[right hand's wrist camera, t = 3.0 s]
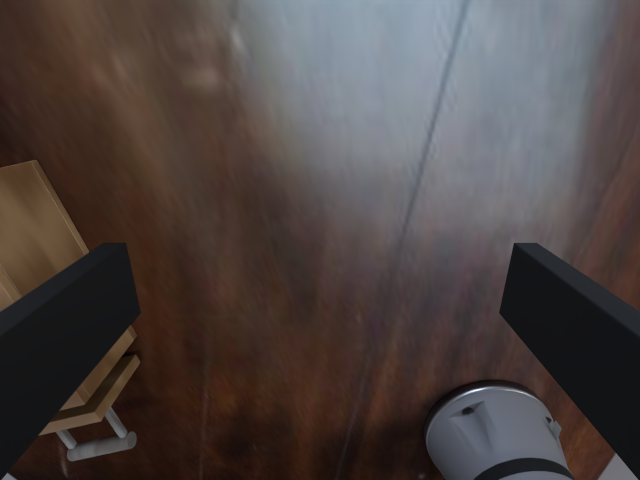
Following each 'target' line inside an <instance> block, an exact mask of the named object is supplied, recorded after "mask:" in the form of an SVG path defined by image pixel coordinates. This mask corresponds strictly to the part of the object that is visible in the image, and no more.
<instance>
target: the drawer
mask: <svg viewBox="0 0 640 480" xmlns="http://www.w3.org/2000/svg"><path fill="white" fill-rule="evenodd" d="M139 364H140V361H139V359H138V357H137V355H136V354H135V355H131V356H127V357H123V358H120V359H119V360H118V362H117V363H116V364H115V366H114V367H113V368H112V370H111V371H110V372H109V374H108V375H107V376H106V377H105V379H104V380H103V381H102V383H101V384H100V385H99V387H98V388H97V389H96V391H95V392H94V393H93V395H92V396H91V397H90V398H89V400H88V401H87V402H86V404H85V405H81V406H77V407H73V408H69V409H64V410H60V411H58V413H57V414H56V415H55V416H54V417H53V419H52V420H51V421H50V422H49V423H48V425H47V426H46V427H45V428H44V429H43V431H42V432H41V433H40V434H39V435H43V434H47V433H51V432H56V433H57V434H58V435H59V437H60V438H61V439H62V441H63V442H64V443H65V445H66V446H67V447H68V448H69V449H68V452H67V457H68V459H69V460H70V461H76V460H81V459H85V458H90V457H94V456H99V455H104V454H108V453H113V452H117V451H122V450H127V449H131V448H133V447H134V446H135V444H136V440H137V437H136V434H135V432H133V431H131V432H127V430H126V429H125V427H124V426H123V424H122V423H121V421H120V420H119V418H118V417H117V415H116V414H115V412H114V411H113V409H112V408H111V405H112V404H113V402H114V401H115V399H116V398H117V396H118V395H119V393H120V392H121V390H122V389H123V388H124V386H125V385H126V383H127V382H128V380H129V379H130V377H131V376H132V374H133V373H134V371H135V370H136V368H137V367H138V365H139ZM104 416H105V417H106V418H107V420H108V421H109V423H110V424H111V426H112V427H113V429H114V430H115V432H116V433H117V435H113V436H109V437H104V438H100V439H95V440H91V441H86V442H82V443H76V441H75V440H74V439H73V437H72V436H71V435H70V433H69V432H68V431H67V429H69V428H73V427H78V426H82V425H87V424H91V423H95V422H100V421H101V420H102V419H103V417H104Z"/></svg>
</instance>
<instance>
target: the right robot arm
mask: <svg viewBox="0 0 640 480" xmlns="http://www.w3.org/2000/svg"><path fill="white" fill-rule="evenodd" d="M140 313H141V312H140V307H139V302H138V297H137V293H136V288H135V283H134V279H133V274H132V269H131V265H130V260H129V255H128V251H127V246H126V243H103V244H101V245H100V246H98V247H97V248H95V249H94V250H92V251H91V252H89V253H88V254H86V255H85V256H83V257H82V258H80V259H79V260H77V261H76V262H74V263H73V264H71V265H70V266H68V267H67V268H65V269H64V270H62V271H61V272H59V273H58V274H56V275H55V276H53V277H52V278H50V279H49V280H47V281H46V282H44V283H43V284H41V285H40V286H38V287H37V288H35V289H34V290H32V291H31V292H29V293H28V294H26V295H25V296H23V297H22V298H20V299H19V300H17V301H16V302H14V303H13V304H11V305H10V306H8V307H7V308H5V309H4V310H2V311H1V312H0V480H2V478H3V477H4V476H5V475H6V474H7V472H8V471H9V470H10V469H11V468H12V466H13V465H14V464H15V463H16V462H17V460H18V459H19V458H20V457H21V456H22V454H23V453H24V452H25V451H26V450H27V448H28V447H29V446H30V445H31V444H32V442H33V441H34V440H35V439H36V438H37V437H38V435H39V434H40V433H41V432H42V431H43V429H44V428H45V427H46V426H47V425H48V423H49V422H50V421H51V420H52V419H53V417H54V416H55V415H56V414H57V413H58V411H59V410H60V409H61V408H62V407H63V405H64V404H65V403H66V402H67V401H68V399H69V398H70V397H71V396H72V395H73V393H74V392H75V391H76V390H77V389H78V387H79V386H80V385H81V384H82V383H83V381H84V380H85V379H86V378H87V377H88V375H89V374H90V373H91V372H92V371H93V369H94V368H95V367H96V366H97V365H98V363H99V362H100V361H101V360H102V359H103V357H104V356H105V355H106V354H107V353H108V352H109V350H110V349H111V348H112V347H113V346H114V344H115V343H116V342H117V341H118V340H119V338H120V337H121V336H122V335H123V334H124V332H125V331H126V330H127V329H128V328H129V326H130V325H131V324H132V323H133V322H134V320H135V319H136V318H137V317H138V316H139V314H140ZM499 313H500V314H501V316H502V317H503V318H504V319H505V320H506V322H507V323H508V324H509V325H510V326H511V328H512V329H513V330H514V331H515V332H516V334H517V335H518V336H519V337H520V338H521V340H522V341H523V342H524V343H525V344H526V346H527V347H528V348H529V349H530V350H531V352H532V353H533V354H534V355H535V356H536V357H537V359H538V360H539V361H540V362H541V363H542V365H543V366H544V367H545V368H546V369H547V371H548V372H549V373H550V374H551V375H552V377H553V378H554V379H555V380H556V381H557V383H558V384H559V385H560V386H561V387H562V389H563V390H564V391H565V392H566V393H567V395H568V396H569V397H570V398H571V399H572V401H573V402H574V403H575V404H576V405H577V407H578V408H579V409H580V410H581V411H582V413H583V414H584V415H585V416H586V417H587V419H588V420H589V421H590V422H591V423H592V425H593V426H594V427H595V428H596V429H597V431H598V432H599V433H600V434H601V435H602V437H603V438H604V439H605V440H606V441H607V443H608V444H609V445H610V446H611V447H612V448H613V450H614V451H615V452H616V453H617V454H618V456H619V457H620V458H621V459H622V460H623V462H624V463H625V464H626V465H627V466H628V468H629V469H630V470H631V471H632V472H633V474H634V475H635V476H636V477H637V478H638V480H640V312H639V311H638V310H636V309H635V308H633V307H632V306H630V305H629V304H627V303H626V302H624V301H623V300H621V299H620V298H618V297H617V296H615V295H614V294H612V293H611V292H609V291H608V290H606V289H605V288H603V287H602V286H600V285H599V284H597V283H596V282H594V281H593V280H591V279H590V278H588V277H587V276H585V275H584V274H582V273H581V272H579V271H578V270H576V269H575V268H573V267H572V266H570V265H569V264H567V263H566V262H564V261H563V260H561V259H560V258H558V257H557V256H555V255H554V254H552V253H551V252H549V251H548V250H546V249H545V248H543V247H542V246H540V245H539V244H537V243H514V246H513V251H512V255H511V260H510V265H509V269H508V274H507V279H506V283H505V288H504V293H503V297H502V302H501V307H500V312H499ZM561 429H562V428H561V427H560V426H559V424H558V423H557V422H556V421H555V423H554V422H553V419H552V417H551V415H550V413H549V411H548V410H547V408H546V407H545V405H544V404H543V403H542V401H541V400H540V399H539V397H538V396H537V395H536V394H535V393H534V392H532V391H531V390H529V389H528V388H526V387H524V386H522V385H519V384H516V383H513V382H507V381H482V382H477V383H473V384H469V385H466V386H464V387H461V388H459V389H457V390H455V391H453V392H451V393H450V394H448V395H447V396H445V397H444V398H443V399H441V400H440V401H439V402H438V403H437V404H436V405H435V406H434V407H433V409H432V410H431V412H430V413H429V415H428V417H427V419H426V422H425V425H424V439H425V443H426V446H427V450H428V453H429V455H430V457H431V459H432V461H433V463H434V464H435V466H436V467H437V468H438V469H439V471H440V472H441V473H442V475H443V477H444V478H445V479H444V480H575V479H574V477H573V475H572V474H571V472H570V471H569V469H568V467H567V464H566V461H565V457H564V454H563V451H562V448H561V444H560V441H559V438H558V436H559V434H560V432H561Z"/></svg>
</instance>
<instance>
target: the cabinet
mask: <svg viewBox="0 0 640 480" xmlns="http://www.w3.org/2000/svg"><path fill="white" fill-rule="evenodd" d="M88 253H89V250H88V248H87V247H86V245H85V243H84V241H83V240H82V238H81V236H80V234H79V233H78V231H77V229H76V227H75V226H74V224H73V222H72V220H71V219H70V217H69V215H68V213H67V212H66V210H65V208H64V206H63V205H62V203H61V201H60V199H59V198H58V196H57V194H56V192H55V191H54V189H53V187H52V185H51V184H50V182H49V180H48V178H47V177H46V175H45V173H44V171H43V170H42V168H41V166H40V164H39V163H38V161H37V160H33V161H29V162H24V163H20V164H15V165H11V166H6V167H2V168H0V312H1V311H2V310H4V309H5V308H7V307H8V306H10V305H11V304H13V303H14V302H16V301H17V300H19V299H20V298H22V297H23V296H25V295H26V294H28V293H29V292H31V291H32V290H34V289H35V288H37V287H38V286H40V285H41V284H43V283H44V282H46V281H47V280H49V279H50V278H52V277H53V276H55V275H56V274H58V273H59V272H61V271H62V270H64V269H65V268H67V267H68V266H70V265H71V264H73V263H74V262H76V261H77V260H79V259H80V258H82V257H83V256H85V255H86V254H88ZM136 337H137V334H136V333H135V331H134V329H133V327H132V326H131V325H130V326H129V328H128V329H127V330H126V331H125V332H124V334H123V335H122V336H121V337H120V338H119V340H118V341H117V342H116V343H115V344H114V346H113V347H112V348H111V349H110V350H109V352H108V353H107V354H106V355H105V356H104V357H103V359H102V360H101V361H100V362H99V363H98V365H97V366H96V367H95V368H94V369H93V371H92V372H91V373H90V374H89V375H88V377H87V378H86V379H85V380H84V381H83V383H82V384H81V385H80V386H79V387H78V389H77V390H76V391H75V392H74V393H73V395H72V396H71V397H70V398H69V399H68V401H67V402H66V403H65V404H64V405H63V407H62V408H61V409H60V410H64V409H69V408H73V407H77V406H81V405H85V404H86V402H87V401H88V400H89V398H90V397H91V396H92V395H93V393H94V392H95V391H96V389H97V388H98V387H99V385H100V384H101V383H102V381H103V380H104V379H105V377H106V376H107V375H108V374H109V372H110V371H111V370H112V368H113V367H114V366H115V364H116V363H117V362H118V360H119V359H120V358H121V356H122V355H123V354H124V353H125V351H126V350H127V349H128V347H129V346H130V345H131V343H132V342H133V341H134V339H135V338H136ZM60 410H59V411H60Z"/></svg>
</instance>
